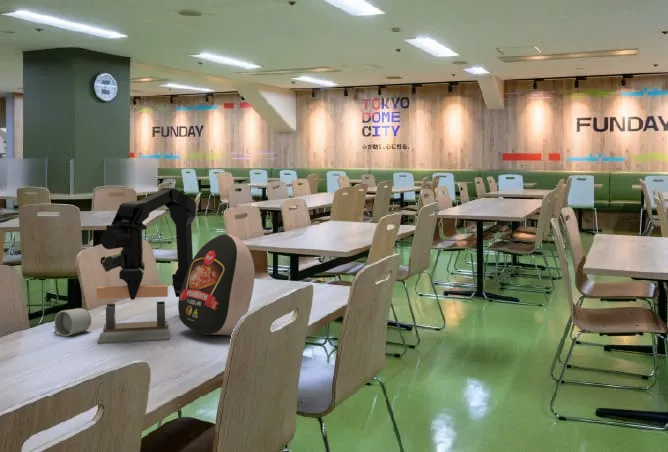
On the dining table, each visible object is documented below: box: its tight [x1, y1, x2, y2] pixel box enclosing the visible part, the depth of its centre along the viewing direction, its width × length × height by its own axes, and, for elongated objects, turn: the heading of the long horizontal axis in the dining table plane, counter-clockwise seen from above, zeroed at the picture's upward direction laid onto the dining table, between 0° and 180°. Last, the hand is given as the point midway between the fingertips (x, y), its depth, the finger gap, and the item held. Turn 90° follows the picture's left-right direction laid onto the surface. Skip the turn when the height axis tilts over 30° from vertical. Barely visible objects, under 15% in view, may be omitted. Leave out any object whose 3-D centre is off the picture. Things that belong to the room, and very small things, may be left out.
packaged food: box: [177, 233, 256, 336], centre depth 207 cm, size 22×20×30 cm
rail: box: [95, 284, 169, 300], centre depth 203 cm, size 20×3×3 cm, turn 103°
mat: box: [97, 328, 171, 345], centre depth 203 cm, size 20×10×1 cm, turn 104°
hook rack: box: [102, 300, 169, 333], centre depth 213 cm, size 19×7×8 cm, turn 104°
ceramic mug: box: [53, 307, 92, 337], centre depth 207 cm, size 11×8×8 cm
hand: (132, 298), depth 203 cm, fingers closed on rail, 3 cm apart
